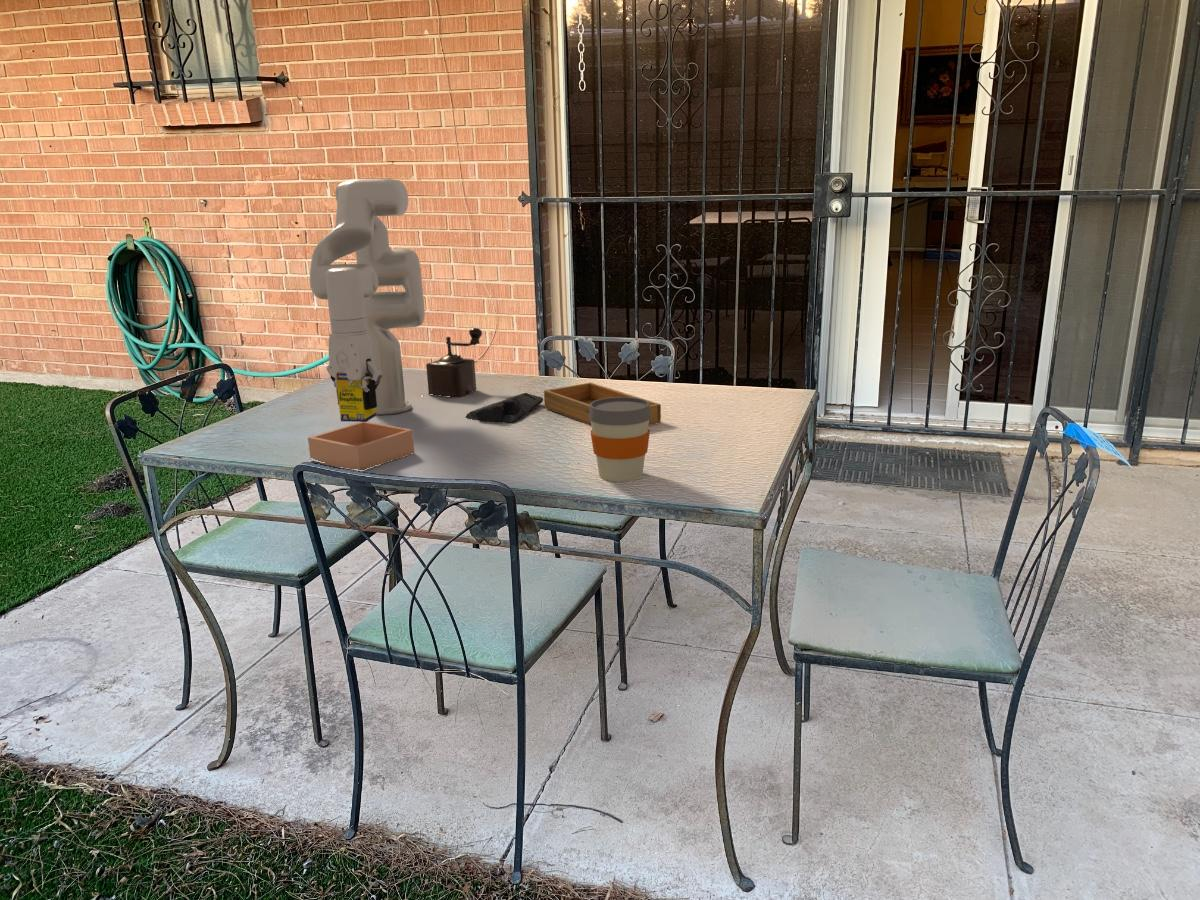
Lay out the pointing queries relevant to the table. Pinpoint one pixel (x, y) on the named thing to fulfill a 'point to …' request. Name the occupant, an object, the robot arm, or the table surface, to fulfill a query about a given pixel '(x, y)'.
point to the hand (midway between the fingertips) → (357, 405)
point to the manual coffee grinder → (453, 371)
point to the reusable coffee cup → (620, 436)
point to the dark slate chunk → (506, 409)
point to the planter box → (361, 445)
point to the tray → (587, 401)
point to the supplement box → (352, 400)
